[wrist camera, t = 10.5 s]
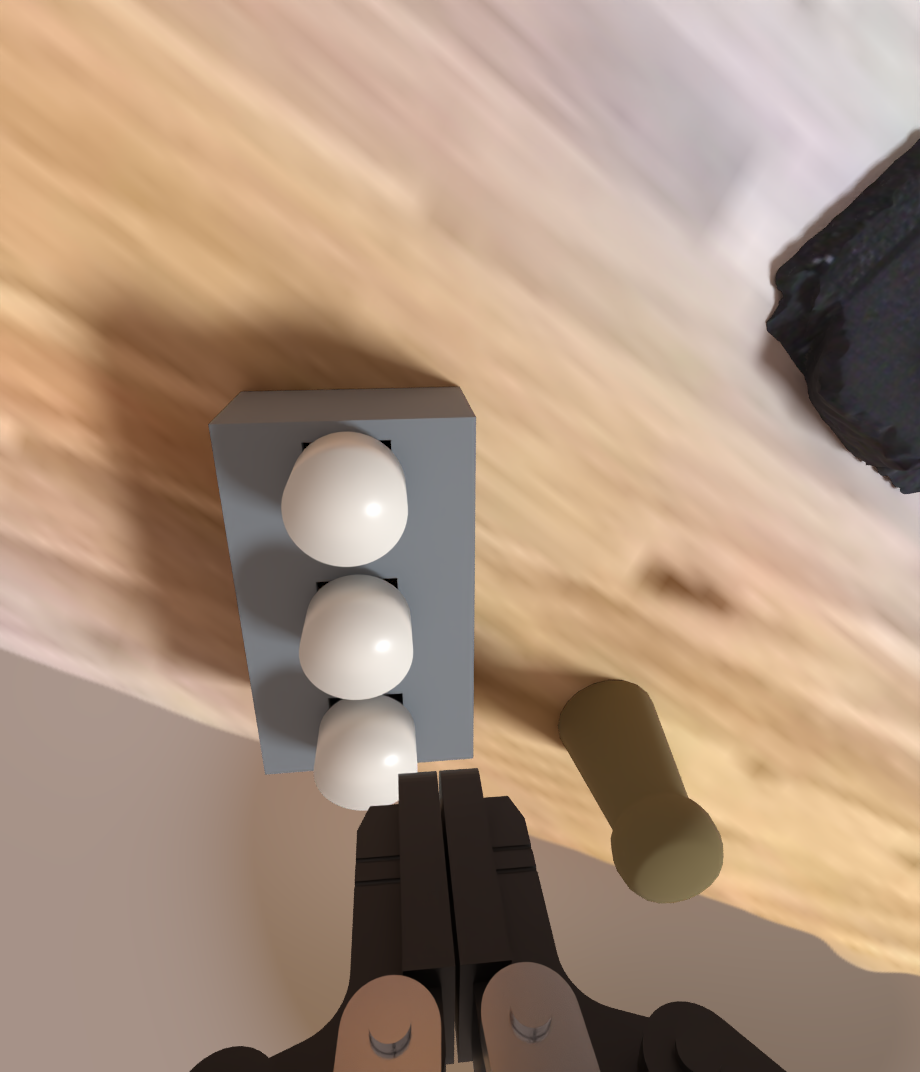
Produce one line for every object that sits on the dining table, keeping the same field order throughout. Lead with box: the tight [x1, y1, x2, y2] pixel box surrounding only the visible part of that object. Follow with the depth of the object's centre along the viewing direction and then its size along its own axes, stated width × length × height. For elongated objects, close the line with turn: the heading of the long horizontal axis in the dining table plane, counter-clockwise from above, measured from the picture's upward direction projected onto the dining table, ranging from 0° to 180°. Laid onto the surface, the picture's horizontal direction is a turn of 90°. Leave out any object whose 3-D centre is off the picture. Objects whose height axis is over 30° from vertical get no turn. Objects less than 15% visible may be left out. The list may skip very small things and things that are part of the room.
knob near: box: [281, 432, 408, 567], centre depth 27 cm, size 4×4×8 cm
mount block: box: [208, 387, 476, 774], centre depth 31 cm, size 17×10×6 cm, turn 0°
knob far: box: [314, 694, 417, 810], centre depth 32 cm, size 4×4×8 cm
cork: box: [558, 680, 723, 903], centre depth 35 cm, size 6×6×11 cm
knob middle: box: [299, 575, 413, 700], centre depth 29 cm, size 4×4×8 cm
